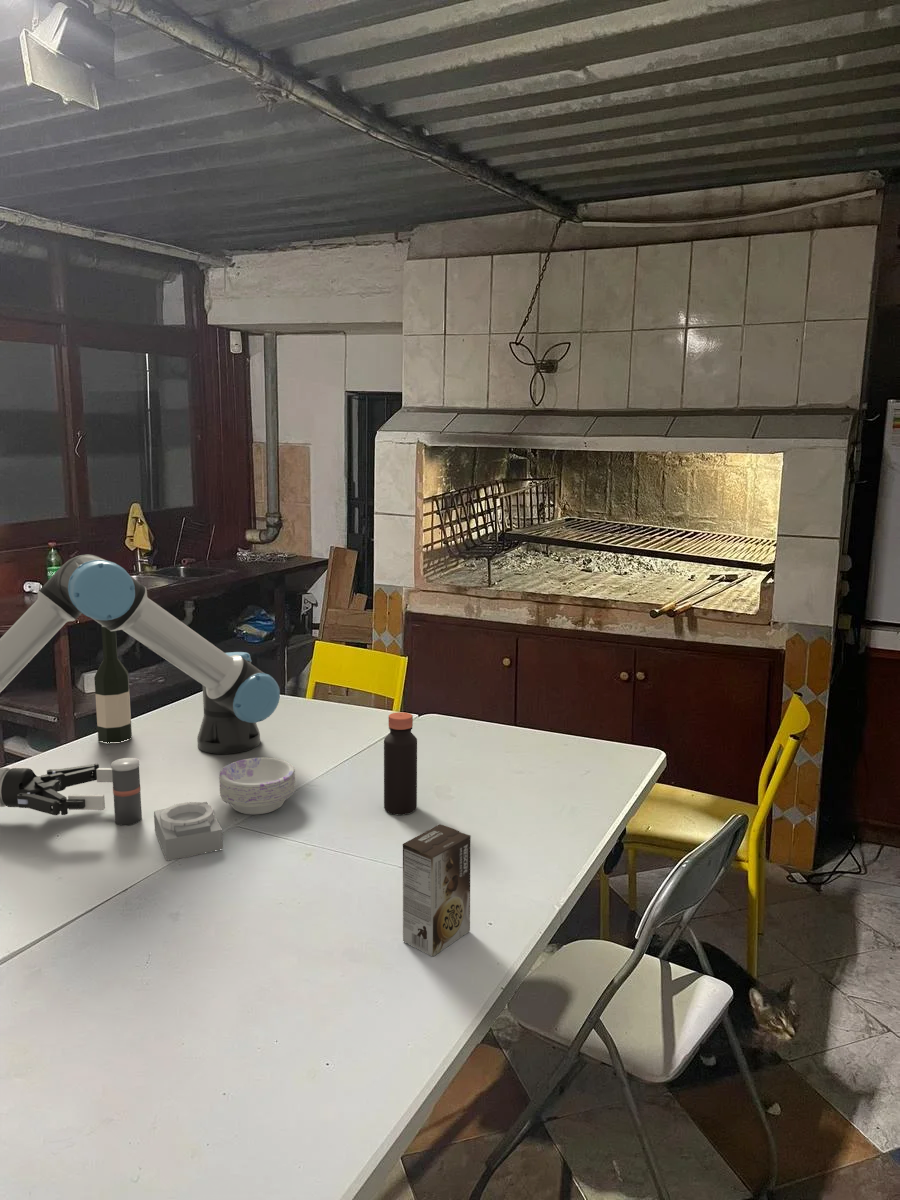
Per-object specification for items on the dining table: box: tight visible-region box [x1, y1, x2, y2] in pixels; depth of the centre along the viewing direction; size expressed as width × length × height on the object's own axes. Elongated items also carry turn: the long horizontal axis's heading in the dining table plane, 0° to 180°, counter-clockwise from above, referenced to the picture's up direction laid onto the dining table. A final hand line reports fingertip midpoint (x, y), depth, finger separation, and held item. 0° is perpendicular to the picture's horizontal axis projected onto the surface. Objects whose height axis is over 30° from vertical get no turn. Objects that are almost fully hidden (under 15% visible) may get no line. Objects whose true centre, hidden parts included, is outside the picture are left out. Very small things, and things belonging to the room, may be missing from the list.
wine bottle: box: [94, 625, 133, 743], centre depth 218 cm, size 8×8×30 cm
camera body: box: [153, 801, 224, 861], centre depth 165 cm, size 10×14×6 cm
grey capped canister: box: [110, 757, 143, 826], centre depth 172 cm, size 5×5×12 cm
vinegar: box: [383, 711, 418, 816], centre depth 178 cm, size 7×7×20 cm
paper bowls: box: [218, 756, 296, 816], centre depth 180 cm, size 15×15×8 cm
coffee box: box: [402, 823, 472, 957], centre depth 132 cm, size 9×6×16 cm
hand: (117, 788), depth 172 cm, fingers open, 13 cm apart
